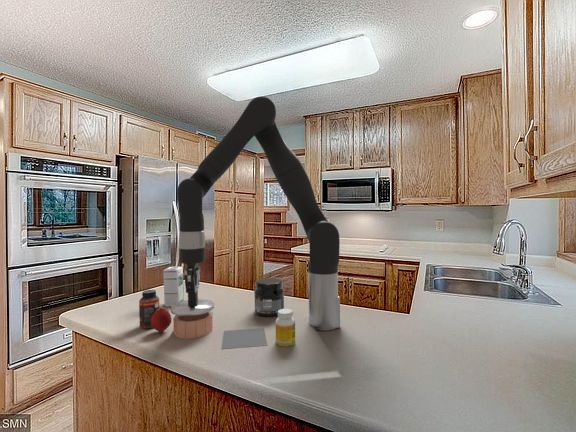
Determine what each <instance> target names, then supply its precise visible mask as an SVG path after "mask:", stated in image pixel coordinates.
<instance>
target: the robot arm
mask: <svg viewBox="0 0 576 432" xmlns="http://www.w3.org/2000/svg"><path fill="white" fill-rule="evenodd" d="M275 105H276V104H275V103H274V101H273V100H271V99H270V98H269V97H266V96H257V97H254V98H252V99H251V100H250V101H249V103H248V104H247V105H246V107H245V109H244V110H243V112H242V113H241V114H240V117H239V118H238V119H237V121H236V122H235V124H234V125H233V126H232V128H231V129H230V130H229V131H228V132H227V134H226V135H225V136H224V137H223V138H222V139H221V140H220V141H219V142H218V144H217V145H216V146H215V147H213V149H211V151H210V152H209V153H208V155H207V156H206V157H204V159H202V161H201V162H200V164H199V165H198V167H197V169H196V170H195V172H194V173H193V174H192V175H191V176H190V177H189V178H185V179H183V180H181V182H180V183H179V184H178V187H177V191H176V194H177V196H176V197H177V205H178V212H179V234H178V235H179V236H178V263H180V264H186V268H185V269H184V275H183V279H184V286H185V293H187V300H188V305H189V306H195V305H196V292H197V290H196V288H198V289H199V286H200V279H201V277H200V273H201V267H200V266H199V264H201V263H204V262H205V261H206V235H205V219H204V217H205V216H204V213H203V198H204V197H205V196H206V195H207V194H208V193H209V191H210V190H211V188H212V187H213V186H214V185H215V183H216V182H217V181H218V180H219V179H220V178H221V177H222V176H223V175H224V174H225V173H226V172H227V170H229V168H230V167H231V166H232V165H233V164H234V162H235V161H236V160H237V158H238V157H239V155H240V154H241V152H242V151H243V150H244V148H245V147H246V145H247V144H248V143H249V142H250V141H251V140H252V139H253V138H255V139H256V141H257V142H258V144H259V145H260V146H261V148H262V151H263V153H264V155H265V156H266V158H267V161H268V164H269V167H270V168H271V170H272V173H273V174H274V176H275V179H276V180H277V183H278V185H279V187H280V188H281V190H282V192H283V194H284V196H285V197H286V199H287V200H288V202H289V203H290V205H291V206H292V208H293V209H294V211H295V212H296V213H297V216H298V219H299V220H300V224H301V225H302V226H303V229H304V232H305V235H306V238H307V241H308V242H309V243H308V244H309V259H308V260H309V261H308V266H307V268H308V324H309V325H310V326H312V327H313V328H314V329H315V330H316V331H325V332H326V331H333V330H335V329H338V328H339V329H340V328H341V297H340V296H339V285H338V284H339V279H338V278H339V275H338V274H339V272H338V271H339V270H338V268H339V263H340V245H341V244H340V241H341V240H340V233H339V230H338V228H337V226H335V224H333V223H332V222H330V221H328V220H327V218H326V216H325V215H324V213H323V211H322V210H321V207H319V205H318V202H317V199H316V196H315V194H314V193H315V192H314V189H313V186H312V183H311V180H310V178H309V176H308V174H307V172H306V170H305V168H304V166H303V164H302V162H301V161H300V159H299V158H298V156H297V155H296V153H294V151H293V150H292V149H291V148H290V147H289V146H288V144H287V143H286V142H285V140H284V139H283V137H282V136H281V133H280V130H279V128H278V125H277V123H276V117H277V109H276V106H275Z"/></svg>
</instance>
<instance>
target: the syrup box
mask: <svg viewBox="0 0 576 432" xmlns="http://www.w3.org/2000/svg"><path fill="white" fill-rule="evenodd" d="M162 270H163V271H162V275H163V276H162V277H163V295H164V296H163V297H164V306H165V307H171V306H172V305H174V304H176V303H178V302H182V301H185V292H184V291H185V290H184V267H183V266H169V267H167V268H165V269H162Z"/></svg>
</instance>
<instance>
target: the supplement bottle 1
mask: <svg viewBox="0 0 576 432" xmlns="http://www.w3.org/2000/svg"><path fill="white" fill-rule="evenodd" d="M156 292H157V290H156V289H145V290H144V291H142V292H141V293H142V296H141V298H140V299H139V301H138V307H139V308H138V311H139V313H138V315H139V327H140V328H141V329H145V330H146V329H147V330H148V329H154V328H153V327H152V325H151V317H152V315H153V314H154V313H155V312H156V311H157V310H158V307H159V306H160V297H159V296H158V295H157V293H156Z"/></svg>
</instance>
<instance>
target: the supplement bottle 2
mask: <svg viewBox="0 0 576 432" xmlns="http://www.w3.org/2000/svg"><path fill="white" fill-rule="evenodd" d="M293 315H294V314H293V310H292V309H290V308H284V309H280V310H278V316H277V318H276V320H275V321H274V322H275V324H274V326H275V345H277V346H278V347H283V348H284V347H286V348H287V347H292V346H294V345H295V344H296V320H295V318H294V317H293Z"/></svg>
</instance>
